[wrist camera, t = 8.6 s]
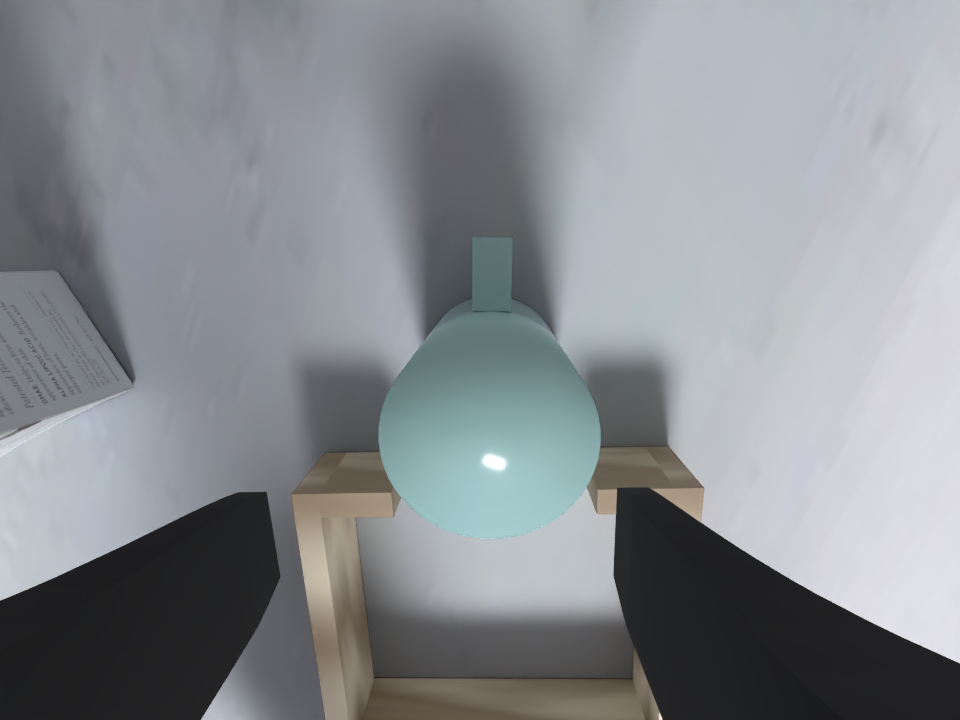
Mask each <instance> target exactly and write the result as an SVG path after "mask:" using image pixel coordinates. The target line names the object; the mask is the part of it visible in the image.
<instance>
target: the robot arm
mask: <svg viewBox="0 0 960 720" xmlns="http://www.w3.org/2000/svg"><path fill="white" fill-rule="evenodd" d="M279 579H280V572H279V566H278V560H277V554H276V548H275V541H274V535H273V529H272V523H271V517H270V510H269V504H268V498H267V492H240V493H235V494H233V495H230V496H227V497H225V498H222V499H220V500H217V501H215V502H213V503H211V504H208V505H206V506H204V507H202V508H200V509H198V510H196V511H194V512H192V513H189V514H187V515H185V516H183V517H181V518H179V519H177V520H175V521H173V522H171V523H169V524H167V525H165V526H163V527H161V528H159V529H157V530H155V531H153V532H151V533H149V534H147V535H145V536H143V537H141V538H139V539H136V540H134V541H132V542H130V543H128V544H126V545H124V546H122V547H120V548H118V549H116V550H113V551H111V552H109V553H107V554H105V555H103V556H101V557H98V558H96V559H94V560H92V561H90V562H88V563H85V564H83V565H81V566H79V567H77V568H75V569H73V570H70V571H68V572H66V573H64V574H62V575H60V576H57V577H55V578H53V579H51V580H48V581H46V582H44V583H42V584H39V585H37V586H35V587H32V588H30V589H28V590H25V591H23V592H20V593H18V594H16V595H13V596H11V597H8V598H6V599H3V600H1V601H0V720H201V719H202V717H203V715H204V714H205V712H206V710H207V709H208V707H209V706H210V704H211V702H212V701H213V699H214V698H215V696H216V694H217V693H218V691H219V689H220V688H221V686H222V685H223V683H224V681H225V680H226V678H227V677H228V675H229V673H230V672H231V670H232V668H233V667H234V665H235V664H236V662H237V660H238V659H239V657H240V655H241V654H242V652H243V650H244V649H245V647H246V645H247V644H248V642H249V640H250V639H251V637H252V635H253V634H254V632H255V630H256V629H257V627H258V625H259V623H260V621H261V619H262V617H263V615H264V613H265V610H266V608H267V606H268V604H269V602H270V600H271V597H272V595H273V593H274V590H275V588H276V586H277V583H278V581H279ZM614 579H615V583H616V587H617V591H618V595H619V600H620V603H621V607H622V611H623V615H624V618H625V622H626V626H627V629H628V631H629V634H630V637H631V639H632V642H633V645H634V647H635V650H636V652H637V655H638V658H639V660H640V663H641V665H642V668H643V671H644V673H645V676H646V678H647V681H648V684H649V686H650V689H651V691H652V694H653V696H654V699H655V702H656V704H657V707H658V709H659V712H660V714H661V717H662V720H960V663H957V662H955V661H953V660H951V659H949V658H946V657H944V656H942V655H940V654H937V653H935V652H933V651H931V650H929V649H926V648H924V647H922V646H920V645H918V644H915V643H913V642H911V641H909V640H906V639H904V638H902V637H900V636H898V635H896V634H894V633H892V632H890V631H888V630H885V629H883V628H881V627H879V626H877V625H875V624H873V623H871V622H869V621H867V620H865V619H863V618H861V617H859V616H857V615H855V614H854V613H852V612H850V611H848V610H846V609H844V608H842V607H840V606H838V605H836V604H834V603H832V602H831V601H829V600H827V599H825V598H823V597H821V596H819V595H817V594H815V593H814V592H812V591H810V590H808V589H806V588H805V587H803V586H801V585H799V584H797V583H796V582H794V581H792V580H790V579H789V578H787V577H785V576H784V575H782V574H780V573H779V572H777V571H775V570H774V569H772V568H770V567H769V566H767V565H765V564H764V563H762V562H761V561H759V560H757V559H756V558H754V557H752V556H751V555H749V554H748V553H746V552H744V551H743V550H741V549H740V548H738V547H737V546H735V545H734V544H732V543H731V542H729V541H727V540H726V539H724V538H723V537H721V536H720V535H718V534H717V533H715V532H714V531H712V530H711V529H710V528H708V527H707V526H705V525H704V524H702V523H701V522H699V521H698V520H696V519H695V518H693V517H692V516H691V515H689V514H688V513H686V512H685V511H683V510H682V509H681V508H679V507H678V506H676V505H675V504H673V503H672V502H670V501H669V500H667V499H666V498H665V497H663V496H662V495H660V494H658V493H657V492H655V491H654V490H652V489H650V488H648V487H628V488H617V504H616V528H615V553H614Z"/></svg>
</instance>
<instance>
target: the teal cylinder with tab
mask: <svg viewBox="0 0 960 720" xmlns="http://www.w3.org/2000/svg"><path fill="white" fill-rule="evenodd" d="M512 251H513V237H472V299H469V300H466V301H464V302H462V303H460V304H458V305H456V306H455V307H453V308H452V309H451V310H449V311H448V312H447V313H446V314H445V315H444V316H443V317H442V318H441V319H440V320H439V322H438V323H437V324H436V326H435V327H434V328H433V330H432V331H431V332H430V334H429V335H428V336H427V338H426V339H425V340H424V342H423V343H422V345H421V346H420V347H419V349H418V350H417V351H416V353H415V354H414V355H413V357H412V358H411V359H410V361H409V362H408V363H407V365H406V366H405V367H404V369H403V370H402V371H401V373H400V374H399V375H398V377H397V378H396V380H395V382H394V383H393V385H392V386H391V388H390V390H389V392H388V394H387V396H386V398H385V401H384V404H383V407H382V410H381V414H380V420H379V431H378V441H379V449H380V455H381V459H382V463H383V466H384V469H385V471H386V473H387V476H388V478H389V480H390V482H391V483H392V485H393V487H394V488H395V490H396V491H397V493H398V494H399V495H400V497H401V498H402V499H403V500H404V501H405V502H406V503H407V504H408V505H409V506H410V507H411V509H412V510H414V511H415V512H416V513H417V514H419V515H420V516H421V517H423V518H424V519H426V520H427V521H429V522H431V523H432V524H434V525H436V526H438V527H440V528H442V529H444V530H447V531H449V532H452V533H455V534H459V535H463V536H467V537H472V538H483V539H501V538H508V537H515V536H518V535H522V534H526V533H529V532H532V531H534V530H537V529H539V528H541V527H543V526H545V525H547V524H549V523H550V522H552V521H554V520H555V519H557V518H558V517H559V516H561V515H562V514H564V513H565V512H566V511H567V510H568V509H569V508H570V507H571V506H572V505H573V504H574V503H575V502H576V501H577V499H578V498H579V497H580V496H581V495H582V493H583V492H584V490H585V488H586V487H587V485H588V484H589V482H590V480H591V477H592V475H593V473H594V471H595V468H596V464H597V461H598V458H599V451H600V444H601V430H600V423H599V416H598V413H597V409H596V406H595V403H594V400H593V398H592V396H591V394H590V391H589V390H588V388H587V386H586V385H585V383H584V382H583V380H582V378H581V377H580V375H579V374H578V372H577V371H576V369H575V368H574V366H573V364H572V363H571V361H570V360H569V358H568V357H567V355H566V354H565V352H564V350H563V349H562V347H561V346H560V344H559V343H558V341H557V339H556V338H555V336H554V335H553V333H552V332H551V330H550V329H549V327H548V325H547V324H546V322H545V321H544V320H543V319H542V318H541V316H540V315H539V314H537V313H536V312H535V311H534V310H533V309H531V308H530V307H529V306H527V305H525V304H523V303H521V302H520V301H517V300H514V299H511V291H512Z"/></svg>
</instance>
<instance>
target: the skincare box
mask: <svg viewBox="0 0 960 720" xmlns="http://www.w3.org/2000/svg"><path fill="white" fill-rule="evenodd" d="M131 389H132V382H131V381H130V379H129V378H128V376H127V375H126V373H125V372H124V370H123V368H122V367H121V365H120V364H119V362H118V361H117V359H116V358H115V356H114V355H113V353H112V352H111V350H110V349H109V347H108V346H107V344H106V343H105V341H104V340H103V338H102V337H101V335H100V334H99V332H98V331H97V329H96V328H95V326H94V325H93V323H92V322H91V320H90V319H89V317H88V316H87V314H86V312H85V311H84V309H83V308H82V306H81V305H80V303H79V302H78V300H77V299H76V297H75V296H74V294H73V293H72V292H71V290H70V289H69V287H68V285H67V284H66V283H65V281H64V280H63V278H62V277H61V275H60V274H59V273H58V272H57V271H55V270H48V271H9V272H0V457H2V456H4V455H5V454H7V453H9V452H10V451H11V450H13V449H14V448H15V447H17V446H19V445H21V444H22V443H24V442H26V441H28V440H29V439H31V438H33V437H35V436H36V435H38V434H40V433H42V432H44V431H46V430H47V429H49V428H51V427H53V426H55V425H57V424H59V423H61V422H63V421H65V420H67V419H69V418H71V417H73V416H75V415H77V414H79V413H81V412H83V411H85V410H87V409H90V408H92V407H94V406H96V405H98V404H100V403H102V402H104V401H107V400H109V399H111V398H114V397H117V396H119V395H121V394H124V393H126V392H128V391H130V390H131Z"/></svg>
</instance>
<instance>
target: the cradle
mask: <svg viewBox="0 0 960 720" xmlns="http://www.w3.org/2000/svg"><path fill="white" fill-rule="evenodd" d="M628 487H648V488H650V489H652V490H654V491H655V492H657V493H658V494H660V495H662V496H663V497H665V498H666V499H667V500H669V501H670V502H672V503H673V504H675V505H676V506H678V507H679V508H681V509H682V510H683V511H685V512H686V513H688V514H689V515H691V516H692V517H693V518H695V519H696V520H698V521H699V522H701V518H702V507H703V496H704V487H703V486H702V485H701V484H700V483H699V481H698V480H697V479H696V478H695V477H694V476H693V474H692V473H691V472H690V471H689V470H688V469H687V467H686V466H685V465H684V464H683V463H682V461H681V460H680V459H679V458H678V457H677V456H676V454H675V453H674V452H673V451H672V450H671V449H670V447H669V446H653V447H601V448H600V451H599V458H598V461H597V464H596V468H595V471H594V473H593V475H592V477H591V480H590V482H589V484H588V485H587V489H588V491H589V494H590V497H591V499H592V502H593V505H594V508H595V510H596V513H597V514H616V504H617V488H628ZM291 498H292V504H293V511H294V517H295V524H296V530H297V537H298V544H299V550H300V557H301V563H302V570H303V576H304V583H305V589H306V596H307V602H308V609H309V615H310V622H311V628H312V635H313V641H314V648H315V654H316V661H317V667H318V674H319V680H320V687H321V694H322V700H323V707H324V713H325V720H662V717H661V714H660V712H659V709H658V707H657V704H656V702H655V699H654V696H653V694H652V691H651V689H650V686H649V684H648V681H647V678H646V676H645V673H644V671H643V668H642V665H641V663H640V660H639V658H638V655H637V652H636V650H635V647H634V661H633V679H464V678H374V674H373V665H372V657H371V648H370V640H369V631H368V623H367V614H366V606H365V597H364V588H363V580H362V571H361V563H360V554H359V546H358V537H357V529H356V520H355V517H394V514H395V512H396V509H397V506H398V504H399V501H400V499H401V497H400V495H399V494H398V493H397V491H396V490H395V488H394V487H393V485H392V483H391V482H390V480H389V478H388V476H387V473H386V471H385V469H384V466H383V463H382V459H381V455H380V452H340V453H325V454H324V455H323V456H322V457H321V459H320V460H319V461H318V462H317V463H316V465H315V466H314V467H313V468H312V470H311V471H310V472H309V473H308V474H307V476H306V477H305V478H304V479H303V480H302V482H301V483H300V484H299V485H298V486H297V488H296V489H295V490H294V491H293V492H292V494H291Z"/></svg>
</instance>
